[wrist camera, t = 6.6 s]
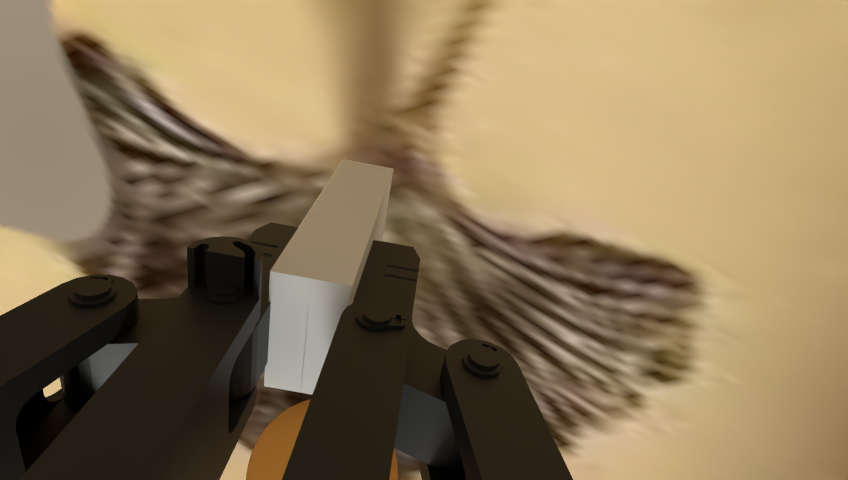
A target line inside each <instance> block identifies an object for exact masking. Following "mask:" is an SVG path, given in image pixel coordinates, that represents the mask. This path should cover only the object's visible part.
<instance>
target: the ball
mask: <svg viewBox="0 0 848 480" xmlns="http://www.w3.org/2000/svg"><path fill="white" fill-rule="evenodd" d="M310 400H311V399H310ZM310 400H306V401H303V402H300V403H298V404H296V405H294V406H292V407H290V408H288V409H287V410H285V411H284V412H283V413H281V414H280V415H279V416H277V417H276V418H275V419H274V420H273V421H272V422H271V423H270V424H269V425H268V426H267V428H266V429H265V430H264V432H263V433H262V434H261V436H260V437H259V439H258V441H257V443H256V445H255V447H254V449H253V451H252V454H251V457H250V460H249V464H248V469H247V474H246V480H282V478H283V475H284V472H285V469H286V467H287V464H288V461H289V458H290V456H291V453H292V450H293V447H294V444H295V442H296V439H297V436H298V433H299V431H300V428H301V425H302V422H303V419H304V417H305V414H306V411H307V408H308V406H309V403H310ZM397 478H398V469H397V459H396V454H395V449H394V451H393V458H392V465H391V472H390V478H389V480H397Z"/></svg>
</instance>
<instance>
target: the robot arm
mask: <svg viewBox="0 0 848 480" xmlns="http://www.w3.org/2000/svg"><path fill="white" fill-rule="evenodd" d="M392 175H393V169H392V168H387V167H382V166H376V165H371V164H366V163H361V162H355V161H350V160H345V159H342V161H341V162H340V164H339V165H338V167H337V169H336V170H335V172H334V173H333V175H332V176H331V178H330V179H329V181H328V182H327V184H326V185H325V187H324V189H323V190H322V192H321V193H320V195H319V196H318V198H317V199H316V201H315V202H314V204H313V206H312V207H311V209H310V210H309V212H308V213H307V215H306V216H305V218H304V219H303V221H302V223H301V224H300V226H299V227H293V226H288V225H282V224H277V223H269V224H267V225H265V226H262V227H260V228H258V229H256V230H255V231H254V232H253V233H252V235H251V236H250V237H249V238H248V239H247V240H244V239H241V238H236V237H225V236H223V237H211V238H206V239H203V240H199V241H196V242H195V243H193V244H191V245H190V246H188V247H187V258H188V287H187V288H186V290H185V291H184V292H183V293H182V294H181V295H180V296H179V298H170V299H138V296H137V289H136V288H135V286H134V284H133V283H132V282H130V281H128V280H127V279H125V278H122V277H117V276H112V275H90V276H85V277H80V278H76V279H73V280H71V281H68V282H65V283H63V284H61V285H59V286H57V287H55V288H53V289H51V290H49V291H47V292H45V293H43V294H41V295H39V296H37V297H36V298H34V299H32V300H30V301H28V302H26V303H24V304H22V305H20V306H18V307H16V308H14V309H12V310H10V311H9V312H7V313H5V314H3V315H1V316H0V480H219V479H220V477H221V475H222V473H223V471H224V469H225V467H226V465H227V462H228V460H229V458H230V456H231V454H232V452H233V450H234V448H235V446H236V444H237V441H238V439H239V437H240V435H241V433H242V431H243V429H244V427H245V425H246V423H247V421H248V418H249V416H250V414H251V412H252V410H253V408H254V406H255V402H256V396H257V382H258V380H259V378H260V376H261V374H262V372H263V370H264V368H265V377H264V386H266V387H272V388H278V389H283V390H289V391H294V392H300V393H306V394H311V395H312V397H311V400H310V403H309V406H308V408H307V411H306V414H305V417H304V419H303V422H302V425H301V428H300V431H299V433H298V436H297V439H296V442H295V444H294V447H293V450H292V453H291V456H290V458H289V461H288V464H287V467H286V469H285V472H284V475H283V478H282V480H389V478H390V472H391V465H392V458H393V451H394V448H396V449H398V450H400V451H402V452H404V453H406V454H408V455H410V456H412V457H414V458H416V459H418V460H420V472H421V477H422V480H573V478H572V476H571V474H570V472H569V470H568V468H567V466H566V464H565V462H564V460H563V458H562V455H561V453H560V451H559V449H558V447H557V445H556V443H555V441H554V439H553V437H552V435H551V433H550V430H549V428H548V426H547V424H546V422H545V420H544V418H543V416H542V414H541V412H540V410H539V407H538V405H537V403H536V401H535V399H534V397H533V395H532V393H531V391H530V389H529V387H528V385H527V382H526V380H525V378H524V376H523V374H522V372H521V370H520V368H519V366H518V364H517V362H516V361H515V360H514V358H513V357H512V356H511V355H510V354H509V353H508V352H506V351H505V350H504V349H502V348H501V347H499V346H497V345H494V344H492V343H489V342H487V341H481V340H474V339H471V340H461V341H459V342H457V343H455V344H453V345H451V346H450V347H449V349H448V350H445V349H443V348H440V347H438V346H436V345H434V344H432V343H430V342H428V341H427V340H426V339H424V338H423V337H422V336H420V334H419V333H418V332H417V331H416V330H415V328H414V326H413V324H412V312H413V305H414V298H415V291H416V284H417V277H418V270H419V263H420V258H419V256H418V254H417V253H416V251H415V249H414V248H413V247H409V246H404V245H399V244H393V243H388V242H382V239H383V232H384V226H385V220H386V213H387V207H388V201H389V194H390V188H391V182H392ZM59 377H60V381H61V387H62V389H60V390H59V391H57V392H56V393H55V394H53V395H50V396H48V397H46V398H45V396H44V393H43V388H45V387H46V386H48V385H49V384H50V383H52V382H53V381H55V380H56V379H58V378H59Z"/></svg>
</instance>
